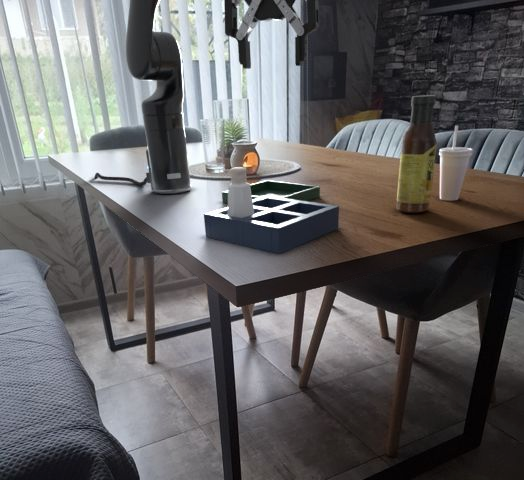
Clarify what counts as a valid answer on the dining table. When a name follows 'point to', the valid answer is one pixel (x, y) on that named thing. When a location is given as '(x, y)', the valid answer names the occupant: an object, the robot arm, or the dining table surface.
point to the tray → (281, 191)
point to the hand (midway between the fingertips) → (272, 67)
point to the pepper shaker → (239, 194)
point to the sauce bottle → (417, 158)
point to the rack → (274, 224)
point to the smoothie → (453, 169)
